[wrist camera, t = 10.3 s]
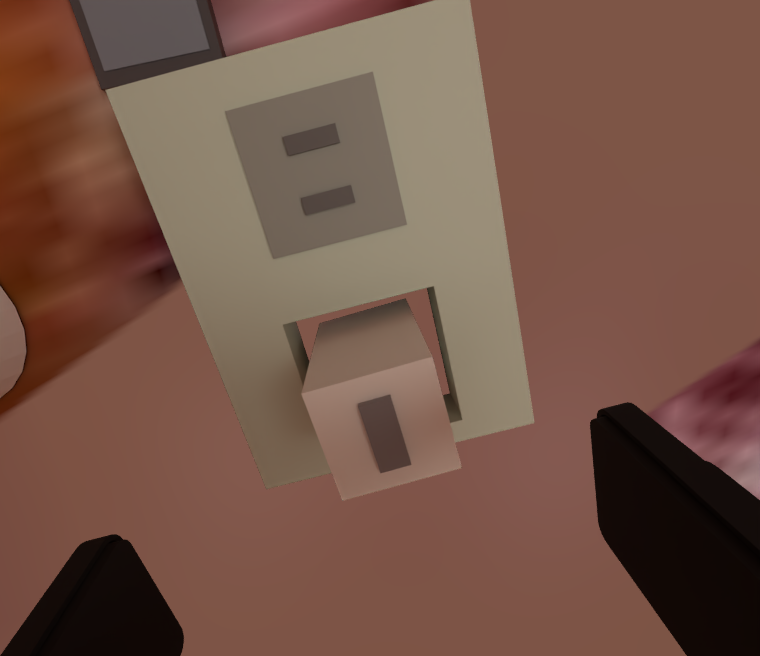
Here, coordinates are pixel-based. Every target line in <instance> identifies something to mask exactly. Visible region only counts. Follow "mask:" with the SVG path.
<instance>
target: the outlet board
mask: <svg viewBox="0 0 760 656" xmlns="http://www.w3.org/2000/svg"><path fill="white" fill-rule="evenodd" d="M106 93H107V95H108V98H109V100H110V103H111V105H112V108H113V110H114V113H115V115H116V118H117V120H118V123H119V125H120V128H121V130H122V133H123V135H124V138H125V140H126V143H127V145H128V148H129V150H130V152H131V155H132V157H133V160H134V162H135V165H136V167H137V170H138V172H139V175H140V177H141V180H142V182H143V185H144V187H145V190H146V192H147V195H148V197H149V200H150V202H151V205H152V207H153V210H154V212H155V215H156V217H157V219H158V222H159V224H160V227H161V229H162V232H163V234H164V237H165V239H166V242H167V244H168V247H169V249H170V252H171V254H172V257H173V259H174V262H175V264H176V267H177V269H178V272H179V274H180V277H181V279H182V282H183V284H184V286H185V289H186V291H187V294H188V296H189V299H190V301H191V304H192V306H193V309H194V311H195V314H196V316H197V319H198V321H199V324H200V326H201V329H202V331H203V334H204V336H205V339H206V341H207V344H208V346H209V348H210V351H211V353H212V356H213V358H214V361H215V363H216V366H217V368H218V371H219V373H220V376H221V378H222V381H223V383H224V386H225V388H226V391H227V393H228V395H229V398H230V400H231V403H232V406H233V408H234V410H235V413H236V415H237V418H238V420H239V423H240V425H241V428H242V430H243V433H244V435H245V437H246V440H247V443H248V445H249V448H250V450H251V453H252V455H253V457H254V460H255V463H256V465H257V468H258V470H259V473H260V475H261V477H262V480H263V482H264V485H265V487H266V489H269V488H273V487H278V486H282V485H286V484H290V483H294V482H298V481H302V480H306V479H310V478H314V477H318V476H322V475H326V474H330V473H331V470H330V468H329V465H328V463H327V460H326V457H325V455H324V452H323V450H322V447H321V444H320V442H319V439H318V436H317V434H316V431H315V429H314V426H313V423H312V421H311V418H310V416H309V413H308V410H307V408H306V405H305V402H304V400H303V397H302V395H301V393H302V389H303V385H304V382H305V378H306V374H307V370H308V366H309V360H308V357H307V354H306V351H305V348H304V345H303V341H302V339H301V336H300V332H299V329H298V326H297V323H296V321H299V320H303V319H307V318H311V317H315V316H319V315H323V314H327V313H330V312H334V311H338V310H342V309H346V308H350V307H353V306H358V305H362V304H365V303H369V302H373V301H377V300H381V299H384V298H389V297H393V296H397V295H400V294H404V293H408V292H412V291H416V290H420V289H424V288H427V290H428V294H429V299H430V304H431V308H432V313H433V318H434V322H435V327H436V331H437V336H438V341H439V345H440V350H441V354H442V358H443V363H444V368H445V373H446V377H447V382H448V386H449V391H450V394H447V395H443V398H444V402H445V406H446V409H447V413H448V417H449V421H450V424H451V428H452V432H453V436H454V440H455V442H459V441H463V440H468V439H471V438H476V437H479V436H484V435H488V434H492V433H496V432H499V431H504V430H508V429H512V428H516V427H520V426H524V425H528V424H532V423H534V417H533V410H532V404H531V397H530V391H529V384H528V377H527V372H526V365H525V358H524V351H523V345H522V338H521V332H520V325H519V319H518V313H517V306H516V299H515V292H514V286H513V279H512V274H511V266H510V260H509V253H508V247H507V240H506V234H505V228H504V221H503V214H502V208H501V201H500V195H499V188H498V182H497V175H496V168H495V162H494V155H493V149H492V142H491V135H490V130H489V122H488V116H487V109H486V103H485V96H484V90H483V83H482V77H481V70H480V64H479V57H478V50H477V45H476V37H475V31H474V24H473V18H472V11H471V5H470V0H435V1H431V2H427V3H424V4H420V5H416V6H413V7H409V8H405V9H402V10H398V11H394V12H391V13H387V14H383V15H380V16H376V17H372V18H368V19H365V20H361V21H357V22H354V23H350V24H346V25H343V26H339V27H335V28H332V29H328V30H324V31H321V32H317V33H313V34H310V35H306V36H302V37H299V38H295V39H291V40H288V41H284V42H280V43H276V44H273V45H269V46H265V47H262V48H258V49H254V50H251V51H247V52H243V53H240V54H236V55H232V56H229V57H225V58H221V59H218V60H214V61H210V62H207V63H203V64H199V65H196V66H192V67H188V68H185V69H181V70H177V71H173V72H170V73H166V74H162V75H159V76H155V77H151V78H148V79H144V80H140V81H137V82H133V83H129V84H126V85H122V86H118V87H115V88H111V89H107V90H106Z"/></svg>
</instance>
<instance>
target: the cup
mask: <svg viewBox="0 0 760 656" xmlns="http://www.w3.org/2000/svg"><path fill="white" fill-rule="evenodd" d="M25 356H26V342H25V333H24V328H23V326H22V323H21V320H20V318H19V315H18V313H17V310H16V308H15V306H14V305H13V303H12V302H11V300H10V299H9V298H8V296H7V295H6V293H5V292H4V290H3V289H2V288H1V286H0V398H1V397H2V396H3V395H5V394H6V393H7V392H8V391H9V390H11V389H12V388H13V386H14V384H15V383H16V381H17V379H18V378H19V376H20V374H21V373H22V371H23V366H24V361H25Z"/></svg>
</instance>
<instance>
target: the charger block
mask: <svg viewBox="0 0 760 656" xmlns="http://www.w3.org/2000/svg"><path fill="white" fill-rule="evenodd" d="M301 395H302V397H303V400H304V402H305V405H306V408H307V410H308V413H309V416H310V418H311V421H312V423H313V426H314V429H315V431H316V434H317V436H318V439H319V442H320V444H321V447H322V450H323V452H324V455H325V457H326V460H327V463H328V465H329V468H330V470H331V473H332V476H333V478H334V481H335V484H336V486H337V489H338V491H339V494H340V497H341V499H342V501H344V500H347V499H351V498H354V497H358V496H362V495H365V494H369V493H373V492H376V491H380V490H384V489H387V488H391V487H395V486H398V485H402V484H405V483H409V482H412V481H416V480H420V479H423V478H427V477H431V476H434V475H438V474H442V473H445V472H449V471H452V470H456V469H460V468H462V467H461V462H460V458H459V455H458V451H457V447H456V444H455V440H454V436H453V432H452V428H451V424H450V421H449V417H448V413H447V409H446V406H445V402H444V398H443V394H442V391H441V387H440V383H439V379H438V376H437V372H436V368H435V364H434V360H433V357H432V354H431V352H430V350H429V348H428V346H427V344H426V341H425V340H424V337H423V335H422V333H421V331H420V329H419V327H418V324H417V322H416V320H415V318H414V316H413V314H412V311H411V309H410V307H409V305H408V303H407V301H406V299H402V300H398V301H395V302H391V303H388V304H385V305H381V306H378V307H374V308H371V309H367V310H364V311H360V312H357V313H354V314H350V315H347V316H343V317H340V318H336V319H333V320H330V321H326V322H323V323H320V324H319V328H318V332H317V335H316V339H315V343H314V347H313V351H312V355H311V359H310V362H309V366H308V370H307V374H306V378H305V382H304V385H303V389H302V393H301Z"/></svg>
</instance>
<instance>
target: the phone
mask: <svg viewBox="0 0 760 656" xmlns="http://www.w3.org/2000/svg"><path fill="white" fill-rule="evenodd" d="M69 1H70V3H71V6H72V9H73V12H74V14H75V17H76V20H77V23H78V26H79V28H80V31H81V34H82V37H83V39H84V42H85V45H86V48H87V51H88V53H89V56H90V59H91V62H92V64H93V67H94V70H95V73H96V76H97V78H98V81H99V84H100V87H101V89H102V90H104V91H106V90H107V89H111V88H115V87H118V86H122V85H126V84H129V83H133V82H137V81H140V80H144V79H148V78H151V77H155V76H159V75H162V74H166V73H170V72H173V71H177V70H181V69H185V68H188V67H192V66H196V65H199V64H203V63H207V62H210V61H214V60H218V59H221V58H225V57H226V54H225V51H224V47H223V43H222V40H221V36H220V32H219V29H218V25H217V22H216V18H215V14H214V11H213V7H212V3H211V0H69Z"/></svg>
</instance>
